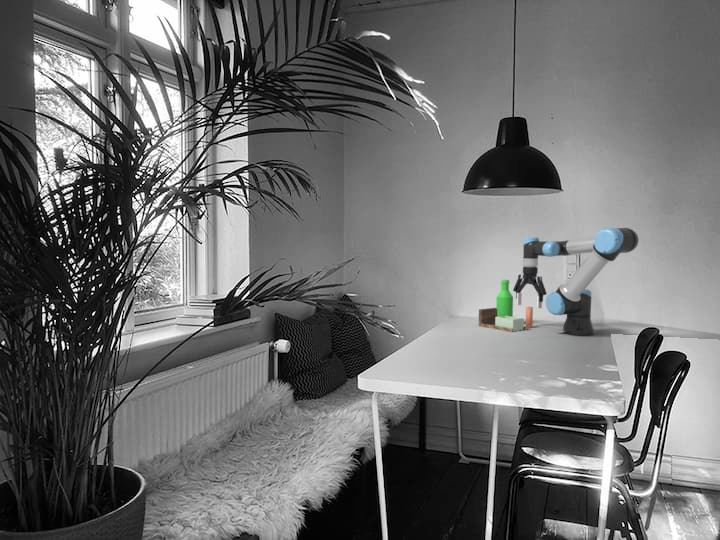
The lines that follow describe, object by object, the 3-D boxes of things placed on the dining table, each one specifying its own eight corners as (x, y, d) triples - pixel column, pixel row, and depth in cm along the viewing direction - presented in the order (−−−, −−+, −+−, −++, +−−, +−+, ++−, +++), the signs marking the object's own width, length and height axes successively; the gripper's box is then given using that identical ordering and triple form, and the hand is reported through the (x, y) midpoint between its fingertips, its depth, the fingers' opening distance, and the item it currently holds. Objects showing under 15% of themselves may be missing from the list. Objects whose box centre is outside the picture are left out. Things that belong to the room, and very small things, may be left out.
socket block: (523, 330, 328) (523, 318, 328) (512, 331, 324) (513, 319, 323) (505, 326, 338) (505, 315, 338) (495, 328, 333) (495, 316, 333)
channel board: (527, 332, 329) (527, 312, 328) (511, 334, 322) (512, 314, 321) (494, 326, 347) (494, 307, 347) (478, 328, 341) (478, 309, 340)
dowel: (533, 329, 336) (534, 307, 335) (529, 330, 334) (529, 307, 334) (528, 329, 339) (529, 306, 338) (524, 329, 337) (524, 307, 336)
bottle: (514, 324, 355) (515, 279, 353) (509, 326, 347) (510, 280, 346) (499, 323, 359) (500, 278, 358) (493, 325, 352) (494, 280, 350)
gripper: (554, 267, 326) (552, 308, 328) (516, 264, 347) (515, 303, 348) (544, 268, 322) (543, 309, 324) (507, 265, 342) (506, 304, 344)
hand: (528, 306), depth 336 cm, fingers open, 13 cm apart
